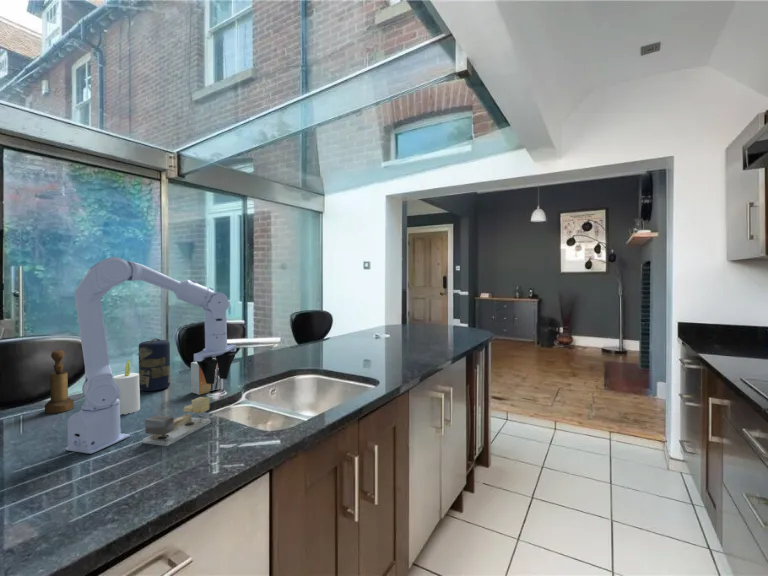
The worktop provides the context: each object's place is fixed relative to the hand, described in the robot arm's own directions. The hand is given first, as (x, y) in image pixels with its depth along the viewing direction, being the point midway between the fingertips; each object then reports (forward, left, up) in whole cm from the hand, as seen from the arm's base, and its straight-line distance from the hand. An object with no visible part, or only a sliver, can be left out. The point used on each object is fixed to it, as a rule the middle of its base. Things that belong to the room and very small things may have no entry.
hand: (217, 381), depth 105 cm
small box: (+18, +19, -10) cm, 28 cm away
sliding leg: (-6, +1, -8) cm, 10 cm away
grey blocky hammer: (-14, +1, -8) cm, 16 cm away
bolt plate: (-13, 0, -9) cm, 16 cm away
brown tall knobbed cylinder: (-8, +49, -10) cm, 51 cm away
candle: (-4, +28, -10) cm, 30 cm away
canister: (+16, +39, -10) cm, 43 cm away
